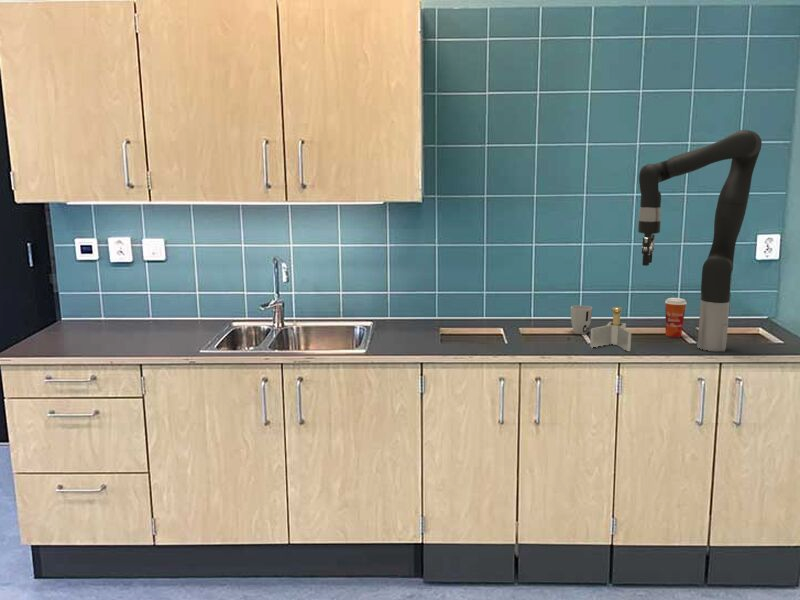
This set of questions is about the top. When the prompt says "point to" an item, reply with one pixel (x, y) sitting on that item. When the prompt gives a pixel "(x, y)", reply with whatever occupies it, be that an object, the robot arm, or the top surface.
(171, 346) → the top surface
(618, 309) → the pin
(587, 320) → the cup
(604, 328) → the grey finned stand
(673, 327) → the paper cup
